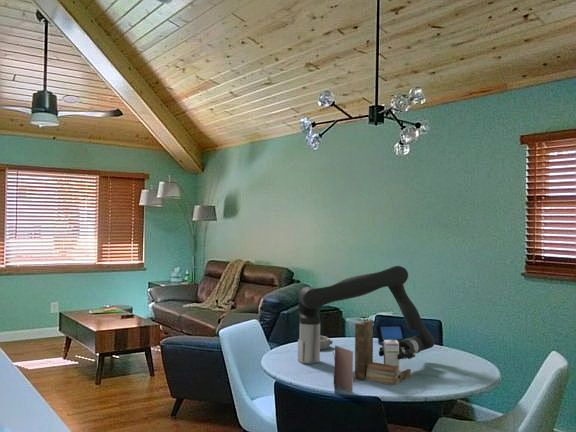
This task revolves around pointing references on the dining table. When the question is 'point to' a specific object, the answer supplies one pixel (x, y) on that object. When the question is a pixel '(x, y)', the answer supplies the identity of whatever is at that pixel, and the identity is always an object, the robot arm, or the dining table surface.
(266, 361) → the dining table surface
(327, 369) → the dining table surface
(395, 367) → the offcut stack
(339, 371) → the greeting card
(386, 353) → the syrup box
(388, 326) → the handheld game console
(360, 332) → the walnut rack
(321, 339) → the dish
